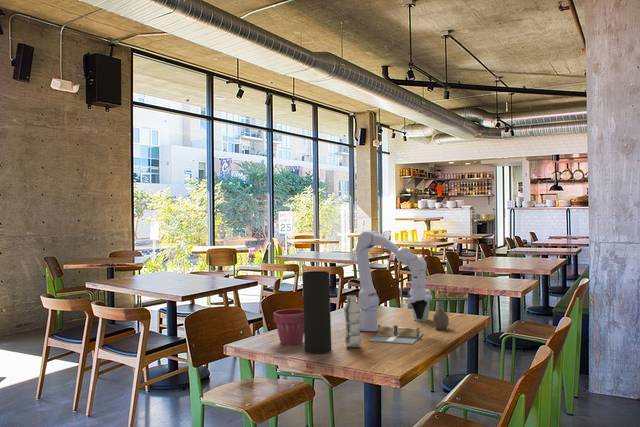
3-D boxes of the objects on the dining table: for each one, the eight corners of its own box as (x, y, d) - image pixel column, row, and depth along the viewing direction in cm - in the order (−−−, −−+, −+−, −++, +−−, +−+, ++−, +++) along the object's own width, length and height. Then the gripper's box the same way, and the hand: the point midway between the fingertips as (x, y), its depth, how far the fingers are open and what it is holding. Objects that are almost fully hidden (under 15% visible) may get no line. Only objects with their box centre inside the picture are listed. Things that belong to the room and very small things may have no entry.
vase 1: (310, 355, 199) (308, 274, 199) (300, 349, 208) (298, 272, 208) (335, 351, 203) (333, 272, 203) (324, 346, 212) (322, 270, 212)
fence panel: (398, 335, 224) (397, 326, 224) (399, 334, 225) (398, 325, 225) (419, 336, 221) (419, 327, 221) (420, 336, 222) (419, 327, 222)
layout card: (369, 341, 218) (369, 340, 218) (382, 331, 235) (382, 330, 235) (412, 344, 211) (412, 343, 211) (423, 334, 228) (423, 332, 228)
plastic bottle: (350, 350, 205) (348, 297, 205) (341, 346, 211) (340, 295, 211) (364, 347, 208) (363, 296, 208) (355, 344, 214) (354, 294, 214)
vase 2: (449, 330, 233) (448, 310, 233) (433, 330, 235) (432, 310, 235) (448, 327, 240) (448, 307, 240) (433, 327, 242) (432, 307, 242)
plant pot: (269, 341, 224) (268, 310, 224) (301, 337, 230) (300, 307, 230) (280, 348, 211) (279, 315, 211) (313, 344, 217) (312, 312, 217)
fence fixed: (377, 335, 228) (377, 324, 228) (378, 334, 229) (378, 324, 229) (397, 337, 224) (396, 326, 224) (398, 336, 226) (397, 325, 226)
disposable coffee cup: (435, 318, 260) (434, 287, 260) (427, 322, 251) (426, 290, 251) (414, 317, 266) (414, 286, 266) (406, 321, 257) (405, 289, 257)
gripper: (413, 289, 220) (414, 322, 220) (437, 285, 228) (438, 317, 228) (401, 287, 225) (402, 320, 225) (424, 284, 234) (425, 315, 234)
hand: (419, 318), depth 227 cm, fingers closed
